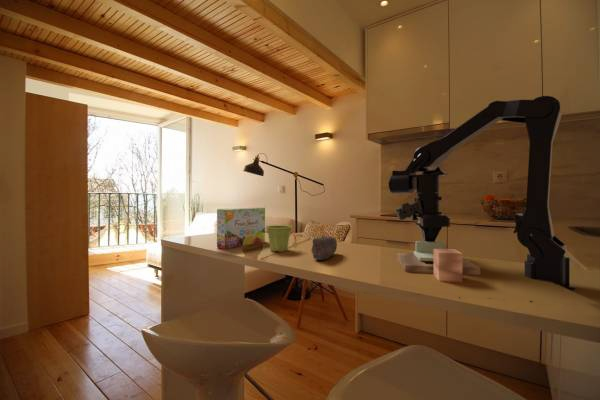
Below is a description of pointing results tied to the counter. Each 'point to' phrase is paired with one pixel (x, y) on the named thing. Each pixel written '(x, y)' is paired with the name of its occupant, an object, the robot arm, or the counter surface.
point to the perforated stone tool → (323, 247)
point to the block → (448, 265)
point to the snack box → (240, 227)
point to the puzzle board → (431, 265)
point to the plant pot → (278, 237)
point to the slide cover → (427, 250)
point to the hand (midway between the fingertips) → (428, 249)
